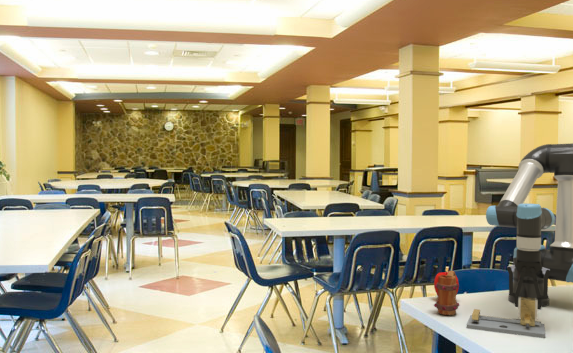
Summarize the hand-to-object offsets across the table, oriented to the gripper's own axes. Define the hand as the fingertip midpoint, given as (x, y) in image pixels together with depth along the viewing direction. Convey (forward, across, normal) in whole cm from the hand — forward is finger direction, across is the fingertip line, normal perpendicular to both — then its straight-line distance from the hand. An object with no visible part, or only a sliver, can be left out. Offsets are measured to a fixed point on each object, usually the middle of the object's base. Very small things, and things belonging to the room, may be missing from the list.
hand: (527, 317), depth 179 cm
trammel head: (+2, 0, +2) cm, 3 cm away
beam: (+2, +7, +3) cm, 8 cm away
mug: (+4, +27, -9) cm, 29 cm away
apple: (+4, +30, -27) cm, 41 cm away
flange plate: (+4, +7, +2) cm, 8 cm away
